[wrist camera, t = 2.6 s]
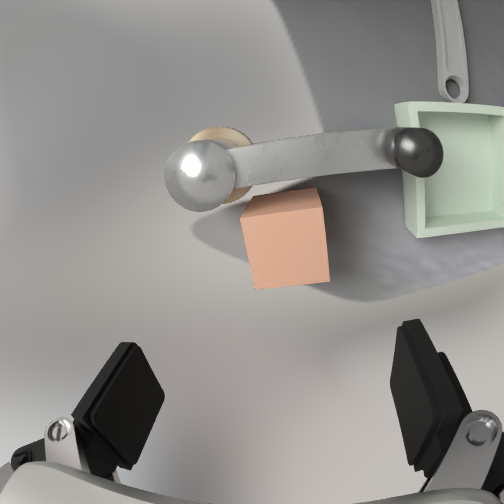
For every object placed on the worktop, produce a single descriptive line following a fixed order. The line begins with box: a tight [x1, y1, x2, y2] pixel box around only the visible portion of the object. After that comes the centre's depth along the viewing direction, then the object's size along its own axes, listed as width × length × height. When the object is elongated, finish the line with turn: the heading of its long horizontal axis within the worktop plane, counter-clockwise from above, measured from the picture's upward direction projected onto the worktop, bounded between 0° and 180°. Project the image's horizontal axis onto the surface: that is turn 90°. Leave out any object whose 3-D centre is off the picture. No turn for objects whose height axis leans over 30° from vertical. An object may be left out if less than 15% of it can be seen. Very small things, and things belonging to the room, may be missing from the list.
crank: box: [165, 127, 443, 212], centre depth 17 cm, size 16×4×7 cm, turn 101°
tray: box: [394, 102, 504, 238], centre depth 18 cm, size 10×10×3 cm
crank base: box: [189, 127, 253, 204], centre depth 22 cm, size 6×6×1 cm
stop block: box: [240, 187, 330, 289], centre depth 21 cm, size 5×5×6 cm
